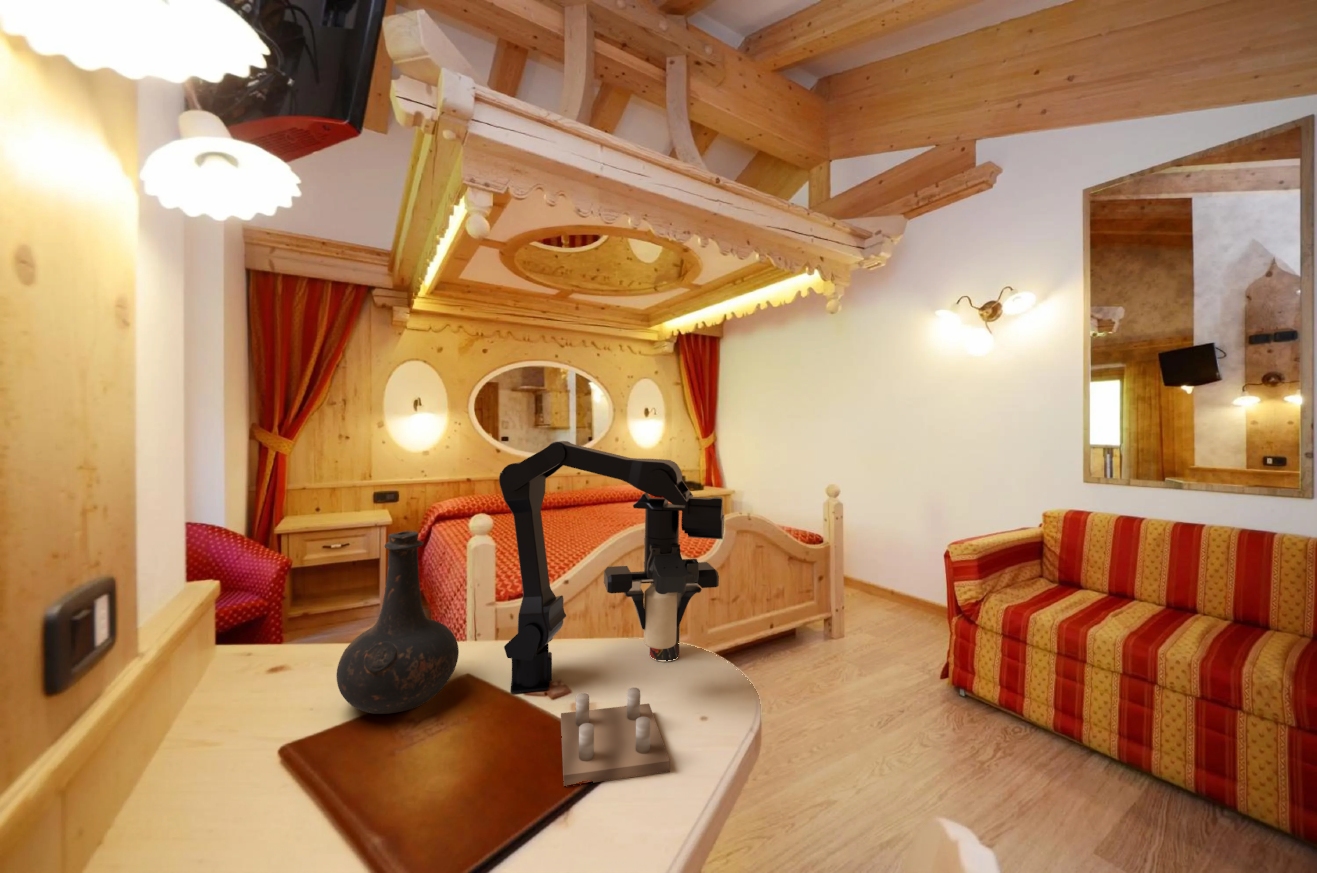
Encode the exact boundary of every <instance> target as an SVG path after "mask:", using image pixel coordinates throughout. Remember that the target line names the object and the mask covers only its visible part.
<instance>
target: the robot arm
mask: <svg viewBox="0 0 1317 873" xmlns="http://www.w3.org/2000/svg"><path fill="white" fill-rule="evenodd" d="M562 467H567V468H572V469H577V470H580V471H585V472H587V473H588V472H589V473H592V474H597V475H600V476H605V477H607V478H611V479H612V478H613V479H616V480H620V481H623V482H625V483H627V484H629V485H630V486H632V487H634V488H635V489H637V490H638V491H641V492H643V493H642V495H641V496H640V498H639V499H638V500H637V501H636V502H634V503H633V504H632V507H633V508H634V509H641V510H645V511H644V514H645V517H644V539H643V542H644V561H643V568H644V569H643V570H644V571H631V570H630V568H629V567H628V565H618V566H607V567H606V568H605V569H604V570H603V585H604V588H605V590H606V592H607V593H609V594H624V596H625V597H627V598H631V599H632V602H633V604H634V607H635V611H636V614H637V618H638V621H639V625H640V628H641V630H644V629H645V613H644V594H645V592H644V591H643V589H642V584H651V583H654V585H655V590H656V592H657V593H659V594H666V593H674V592H677V627H679V625H680V626H681V622H682V620H683V616H684V614H685V611H686V609H687V606H688V604H689V602H690V601H691V599H692V597H693V596H695V595H696V594H700V593H701V592H702V589H710V588H718V587H719V584H720V583H719V580H720V576H719V572H718V571H717V570H716V569H715V568H714V567H713V566H712V565H711V564H710V563H709V562H708V561H706V562H705V561H704V562H703V561H701V562H699V561H698V559H697V558H683V557H682V554H681V544H679V543H680V542H679V540H680V512H681V530H682V532H684V534H687V537H688V538H696V539H709V540H710V539H711V540H723V539H724V533H725V532H724V530H725V514H724V504H723V503H724V499H723V497H721V496H713V497H697V496H694V494H693V493H692V492H691V490H690V489H689V488H688V486H687V484H686V483H685V482H684V481H683V473H682V469H681V468H680V466H679V464H677V463H676V462H675V461H674V460H671V459H663V458H661V459H660V458H659V459H658V458H634V457H627V456H624V455H620V454H616V453H612V452H607V451H602V450H598V449H595V448H590V447H586V446H582V445H579V444H574V443H572V442H570V441H569V440H559V441H554V442H551V443H550V444H549V445H548V446H547V447H545V448H543V449H542V450H540V451H538V452H536V453H534V454H533V455H531V456H528V457H527V458H525V459H524V460H522V461H519V462H513V463H510V464H507V465H506V466H504V468H503V469H502V471H501V472H500V473H499V478H498V483H499V487H500V490H501V493H502V497H503V500H504V502H505V504H506V505H507V506H508V508H509V510H510V512H511V513H512V516H513V520H514V528H515V529H514V531H515V537H516V544H517V554H518V564H519V571H520V579H521V587H522V600H521V603H520V607H519V611H518V617H517V619H518V620H517V633H516V634H515V636H513V637H512V638H511V639H510V640H509V641H508V642H507V643H506V644H505V645H504V646H503V648H504V652H505V655H506V657H507V659H510V660H511V683H510V689H509V690H510V691H509V692H510V694H519V693H529V692H530V693H531V692H538V691H539V692H540V691H548V690H549V689H550V682H551V681H552V680H553V679H552V678H553V677H552V676H553V675H552V674H553V673H552V672H553V670H552V669H553V654H552V652H551V651H550V650H549V649H550V648H549V643H550V642H551V641H553V639H554V637H555V635H557V633H558V632H559V631H560V630H561V629H562V627H563V626H564V625H563V624H564V619H565V618H567V614H566V612H565V608H564V599H565V598H564V596H563V595H558V596H556V595H555V593H554V592H553V590H552V588H551V584H550V583H551V582H550V575H549V568H548V560H547V553H546V552H547V551H546V543H545V535H544V527H543V525H544V524H543V518H542V506H543V502H544V499H545V494H546V480H547V479H548V478H549V477H551V476H552V475H553V474H555V473H556V472H557V471H559V470H560V469H561V468H562ZM651 496H652V497H651Z"/></svg>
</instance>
